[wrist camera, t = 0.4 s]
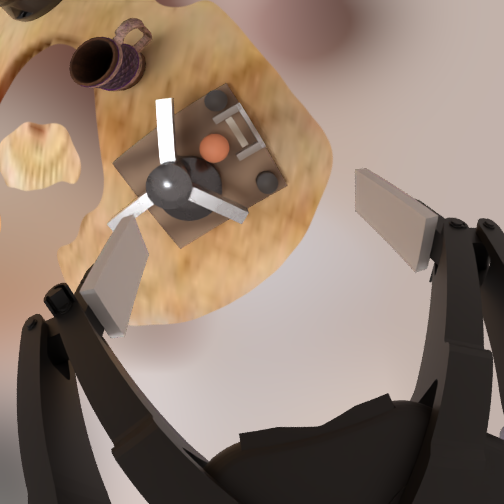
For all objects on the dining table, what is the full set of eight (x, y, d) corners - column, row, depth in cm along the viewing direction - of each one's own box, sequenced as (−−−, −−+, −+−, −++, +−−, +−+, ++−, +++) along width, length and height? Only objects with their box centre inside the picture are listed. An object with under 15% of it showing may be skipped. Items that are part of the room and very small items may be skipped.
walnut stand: (115, 160, 36) (107, 166, 33) (225, 83, 32) (226, 82, 29) (181, 243, 45) (179, 255, 42) (285, 182, 42) (290, 189, 39)
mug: (119, 100, 31) (84, 103, 21) (94, 71, 28) (53, 66, 18) (173, 54, 29) (156, 37, 19) (146, 25, 25) (121, 1, 15)
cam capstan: (89, 162, 34) (64, 178, 27) (175, 93, 31) (165, 91, 24) (161, 251, 43) (153, 281, 37) (246, 199, 41) (253, 222, 34)
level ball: (194, 142, 35) (192, 146, 32) (219, 126, 34) (219, 129, 31) (210, 164, 37) (209, 171, 34) (234, 149, 36) (236, 155, 33)
